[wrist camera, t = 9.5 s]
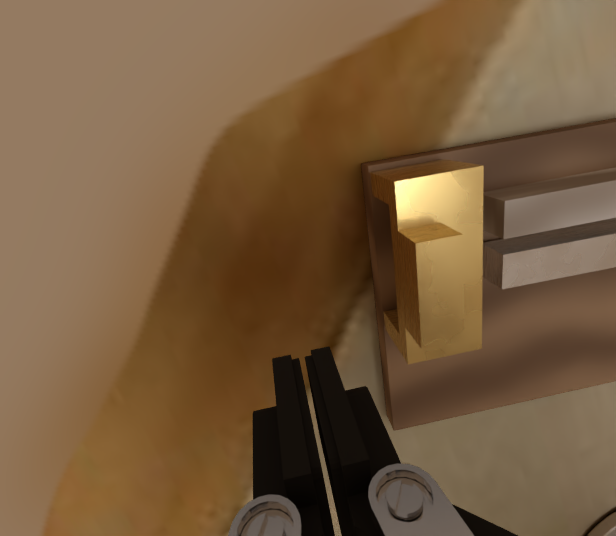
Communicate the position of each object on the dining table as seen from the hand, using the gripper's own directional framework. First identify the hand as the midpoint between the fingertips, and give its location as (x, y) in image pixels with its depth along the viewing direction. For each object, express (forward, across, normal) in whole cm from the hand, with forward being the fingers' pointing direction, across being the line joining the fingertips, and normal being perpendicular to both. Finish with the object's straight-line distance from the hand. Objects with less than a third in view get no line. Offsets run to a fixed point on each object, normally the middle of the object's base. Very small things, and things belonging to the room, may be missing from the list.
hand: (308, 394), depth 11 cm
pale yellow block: (+11, -7, +1) cm, 13 cm away
